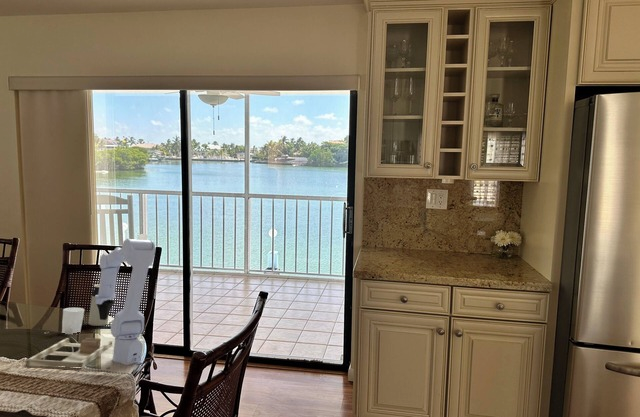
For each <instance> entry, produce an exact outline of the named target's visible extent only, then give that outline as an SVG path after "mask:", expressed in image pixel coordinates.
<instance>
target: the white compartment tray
mask: <svg viewBox="0 0 640 417" xmlns="http://www.w3.org/2000/svg"><path fill="white" fill-rule="evenodd" d="M80 345H81V343H77V342H75V343H74V342H73V343H71V342H70V337H66V338H64V339H62V340H60V341H58V342H56V343H55V344H53V345H51V346H49V347H48V348H46V349H44V350H42V351H40V352H39V353H36V354H35V355H33V356H31V357H29V358H27V359H26V362H25V367H40V366H65V367H83V368H84V367H86V366H87V365H88V364H89V363H91V362H93V361H94V360H95V359H96V358H98V357H99V356H101V355H102V354H104V352H106V351H107V350H108V349H110V348H111V347H113V340H109V341H107V343H104V344H100V348H99V349H98V350H96V351H95V352H93V353H80ZM62 347H75V348H79V349H78V350H76V351H75V352H72V351H71V352H70V351H57V350H60V349H61V348H62ZM48 356H60V357H61V356H62V357H65V358H63V359H62V360H53V359H51V360H49V359H44V358H45V357H48Z"/></svg>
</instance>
